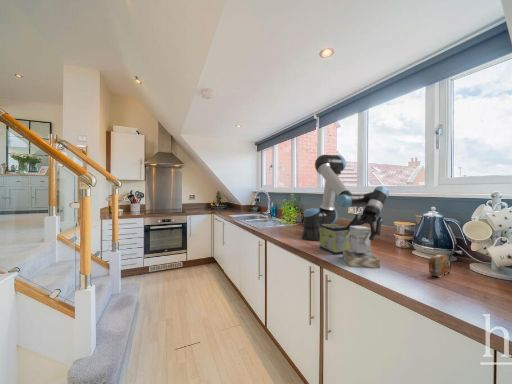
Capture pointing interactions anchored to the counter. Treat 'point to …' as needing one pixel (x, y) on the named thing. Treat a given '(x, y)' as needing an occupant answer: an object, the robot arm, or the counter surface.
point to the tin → (439, 265)
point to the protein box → (333, 238)
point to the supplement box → (359, 239)
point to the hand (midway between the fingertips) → (356, 242)
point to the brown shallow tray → (361, 259)
